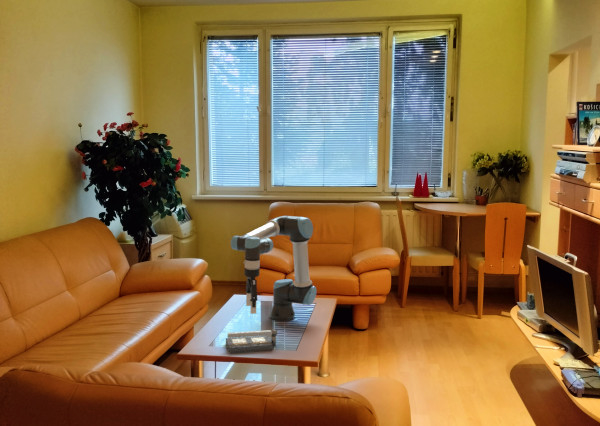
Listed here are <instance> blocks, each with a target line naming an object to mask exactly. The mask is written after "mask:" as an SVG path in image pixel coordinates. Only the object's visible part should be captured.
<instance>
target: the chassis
mask: <svg viewBox="0 0 600 426" xmlns="http://www.w3.org/2000/svg"><path fill="white" fill-rule="evenodd" d="M270 336H271V335H270ZM225 345H226V348H227V351H228V352H229V354H241V353H243V354H244V353H256V352H271V351H272V350H274V347H276V345H277V335H276V336H271V339H270V338H269V335H266V336H250V337H235V338H228V337H226V338H225Z"/></svg>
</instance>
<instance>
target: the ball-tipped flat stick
mask: <svg viewBox="0 0 600 426" xmlns="http://www.w3.org/2000/svg"><path fill="white" fill-rule="evenodd" d="M277 335H278V329H277V328H271V329H269V330H268V329H267V330H250V331H249V330H248V331H239V332H238V331H237V332H227V338H238V337H253V336H276V337H277Z"/></svg>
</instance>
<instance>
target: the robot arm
mask: <svg viewBox="0 0 600 426" xmlns="http://www.w3.org/2000/svg"><path fill="white" fill-rule="evenodd" d="M313 232H314V226H313V222H312V220H311V219H310V218H309V217H304V216H293V215H282V216H277V217H274V218H272V219H269V220H268V221H267V222H266V223H265V224H264V225H262V226H259V227H257V228H255V229H253V230H251V231H249V232H247V233H245V234H243V235H234V236H232V237H231V238H230V247H231V249H232V250H235V251H241V252H244V261H243V264H244V271H243V272H244V274H243V275H244V276H245V277H246V285H245V292H246V299H245V300H246V301H245V302H246V303H245V304H246V305H245V306H246V307H250V315H251V314H257V301H258V289H257V288H258V287H257V286H258V285H257V280H256V277H259V276H260V266H261V265H260V264H261V263H260V262H261V260H260V257H261V255H263V254H268V253H270V252H272V250H273V249H274V242H273V240H272V239H271V238H270V237H277V236H286V237H287V236H288V237H289V241H290V242H291V243H292V253H293V254H292V255H293V268H294V280H293V279H291V278H290V279H289V278H285V279H283V278H282V279H278V280H276V281H274V282H273V289H272V290H273V293H272V294H273V296H272V297H273V298H272V299H273V302H272V303H273V305H272V308H271V310H270V312H269V318H270V319H272V320H274V321H284V320H287V321H290V320H289V319H292V318H293V317H294V316H296V314H295V311H294V307H293V303H294V304H300V305H306V306H310V305H312V304H313V303H314V301H315V300H316V297H317V287H316V286H315V285H313V281H312V280H311V279H310V265H309V251H308V250H309V249H308V242H309V241H310V240H311V239H310V238H312V236H313V234H314V233H313ZM292 320H293V319H292Z"/></svg>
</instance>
